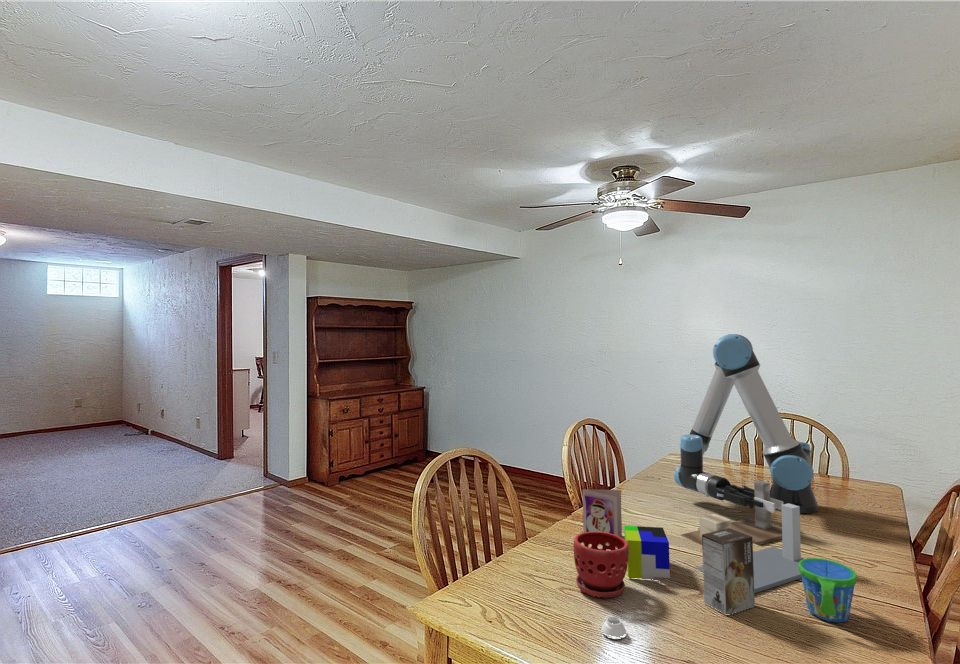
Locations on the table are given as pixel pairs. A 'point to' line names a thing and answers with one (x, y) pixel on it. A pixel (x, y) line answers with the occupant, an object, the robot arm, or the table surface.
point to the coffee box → (728, 570)
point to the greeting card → (602, 511)
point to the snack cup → (828, 588)
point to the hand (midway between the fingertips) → (778, 507)
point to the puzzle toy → (647, 552)
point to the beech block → (713, 523)
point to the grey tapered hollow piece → (614, 627)
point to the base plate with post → (779, 554)
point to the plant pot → (601, 563)
